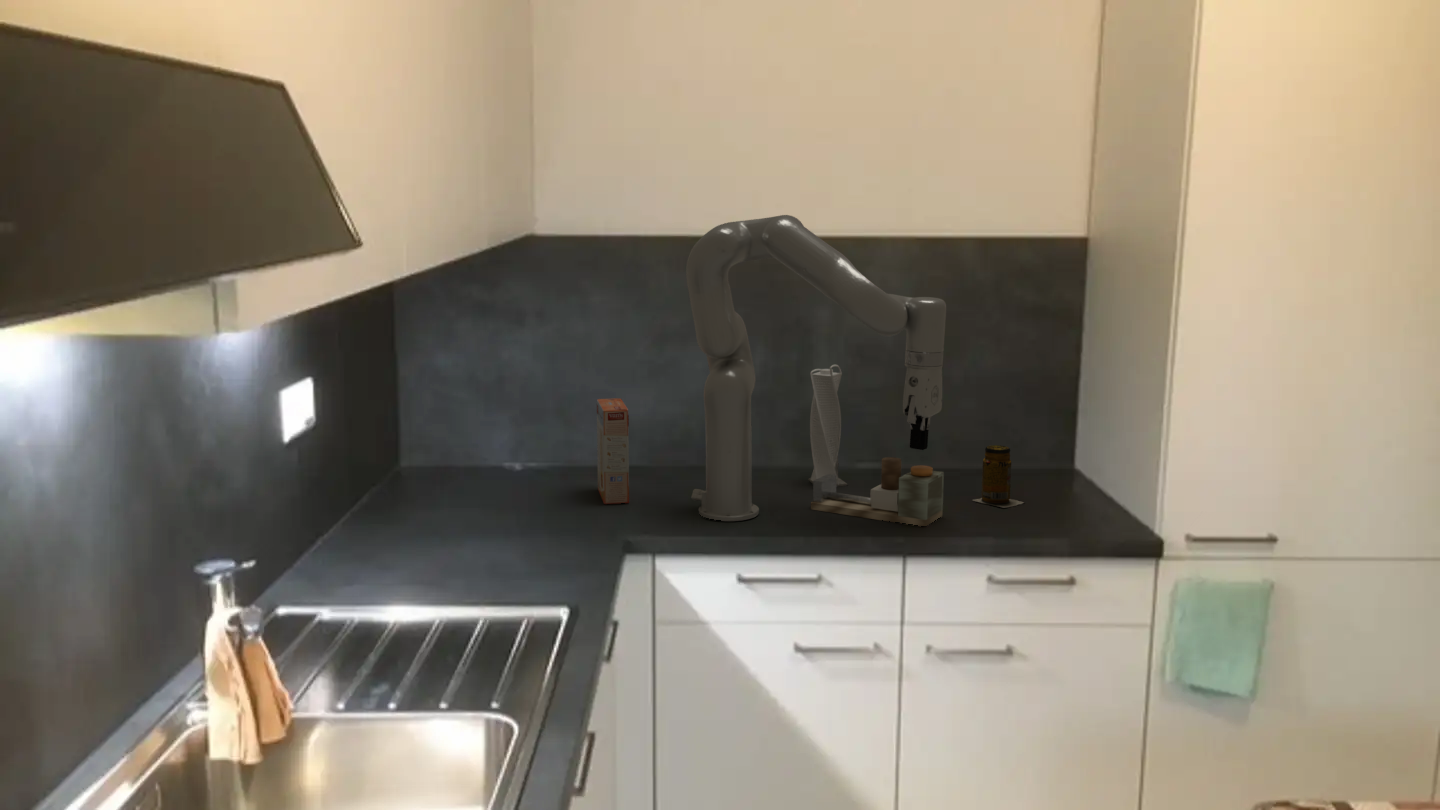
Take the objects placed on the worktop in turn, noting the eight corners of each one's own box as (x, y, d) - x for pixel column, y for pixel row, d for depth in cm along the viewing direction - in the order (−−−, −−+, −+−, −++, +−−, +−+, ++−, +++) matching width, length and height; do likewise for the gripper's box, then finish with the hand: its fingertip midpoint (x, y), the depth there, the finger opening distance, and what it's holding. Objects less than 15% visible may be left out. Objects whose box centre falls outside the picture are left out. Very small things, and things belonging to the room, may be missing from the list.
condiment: (993, 495, 281) (995, 442, 278) (1024, 503, 274) (1027, 449, 272) (971, 501, 276) (973, 447, 274) (1003, 509, 270) (1005, 454, 267)
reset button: (907, 484, 260) (907, 468, 259) (915, 479, 263) (916, 464, 263) (927, 486, 257) (927, 471, 257) (935, 482, 261) (936, 467, 260)
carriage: (870, 508, 263) (871, 461, 262) (884, 500, 269) (885, 454, 267) (896, 512, 260) (898, 464, 258) (910, 504, 266) (911, 457, 264)
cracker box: (631, 504, 274) (629, 408, 270) (603, 505, 273) (601, 409, 269) (623, 488, 288) (622, 397, 284) (597, 489, 287) (595, 398, 283)
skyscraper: (849, 487, 288) (851, 364, 283) (815, 489, 286) (816, 366, 281) (836, 478, 296) (838, 359, 291) (803, 480, 294) (804, 360, 289)
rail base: (810, 509, 270) (811, 465, 268) (829, 499, 277) (830, 457, 275) (925, 527, 256) (926, 481, 255) (942, 516, 264) (943, 472, 262)
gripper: (927, 366, 247) (921, 458, 251) (955, 356, 260) (949, 444, 263) (891, 361, 251) (886, 452, 255) (921, 353, 264) (915, 439, 267)
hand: (918, 448), depth 259 cm, fingers closed
